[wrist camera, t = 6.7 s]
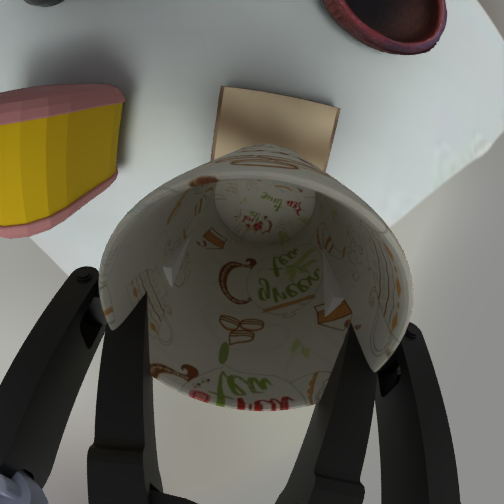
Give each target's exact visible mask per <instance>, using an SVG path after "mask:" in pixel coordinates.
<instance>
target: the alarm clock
mask: <svg viewBox="0 0 504 504" xmlns="http://www.w3.org/2000/svg"><path fill="white" fill-rule="evenodd" d="M125 101H126V99H125V96H124V94H123V93H122V92H121V91H120V89H119V88H117V87H114V86H112V85H109V84H58V85H45V86H36V87H28V88H22V89H16V90H11V91H6V92H2V93H0V237H4V238H10V239H12V238H20V237H29V236H32V235H35V234H38V233H41V232H44V231H47V230H50V229H51V228H53V227H54V226H56V225H58V224H59V223H61V222H63V221H65V220H66V219H67V218H68V217H70V216H71V215H72V214H73V213H75V212H76V211H77V210H79V209H80V208H81V207H83V206H84V205H85V204H87V203H88V202H89V201H91V200H92V199H93V198H95V197H96V196H97V195H99V194H100V193H102V192H103V191H104V190H106V189H107V188H108V187H109V186H110V185H111V184H112V183H113V182H114V181H115V179H116V178H117V175H118V169H117V166H116V159H117V147H118V137H119V129H120V121H121V113H122V107H123V102H125Z"/></svg>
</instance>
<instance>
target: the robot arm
mask: <svg viewBox="0 0 504 504" xmlns="http://www.w3.org/2000/svg"><path fill="white" fill-rule="evenodd" d="M24 1H25V2H27V3H28V4H30V5H34V6H42V7H48V6H52V5H55V4H58V3H60V2H62V1H64V0H24ZM191 234H192V232H191V233H190V234H189V235H188V236H187V238H186V239H185V240H184V241H183V242H182V244H181V245H180V246H179V247H178V248H177V250H176V251H175V252H174V253H173V254H172V256H171V257H170V258H169V259H168V260H167V262H166V263H165V264H164V265H163V270H164V273H165V275H166V277H167V280H168V282H169V284H170V285H171V287H173V284H174V282H175V279H176V276H177V273H178V271H179V268H180V265H181V262H182V260H183V257H184V254H185V251H186V249H187V246H188V243H189V240H190V237H191ZM323 279H324V306H325V317H326V316H327V315H329V314H330V313H331V312H332V311H333V310H335V309H336V308H337V307H338V306H339V305H340V304H341V302H342V301H343V300H344V299H345V298H344V296H343V294H342V291H341V289H340V287H339V285H338V282H337V280H336V278H335V276H334V273H333V271H332V269H331V267H330V265H329V263H328V260H327V258H326V256H325V254H324V252H323ZM104 333H105V336H104V343H103V349H102V356H101V364H100V372H99V380H98V391H97V401H96V402H97V403H96V416H95V438H94V443H93V444H92V445H91V446H90V447H89V450H88V454H87V481H88V482H87V483H88V500H89V504H197V503H195V502H193V501H190V500H188V499H186V498H181V497H177V496H173V495H169V494H164V493H163V487H162V482H161V477H160V473H159V468H158V461H157V451H156V439H155V426H154V409H153V382H152V381H153V377H152V376H151V371H150V357H149V334H148V299H147V292H146V293H145V294H144V296H143V297H142V298H141V300H140V301H139V302H138V304H137V305H136V306H135V308H134V309H133V310H132V311H131V313H130V314H129V315H128V316H127V318H126V319H125V320H124V321H123V322H122V323H121V324H120V326H119V327H117V328H116V329H115V330H111V329H110V327H109V325H108V323H107V320H106V317H105V315H104V312H103V309H102V305H101V300H100V294H99V272H98V270H97V269H96V268H93V267H88V266H85V267H80V268H78V269H76V270H75V271H73V272H72V273H71V275H70V276H69V277H68V279H67V280H66V281H65V283H64V284H63V285H62V287H61V288H60V289H59V291H58V292H57V293H56V295H55V296H54V298H53V299H52V301H51V302H50V303H49V305H48V306H47V308H46V309H45V311H44V312H43V313H42V315H41V317H40V318H39V319H38V321H37V323H36V324H35V326H34V327H33V329H32V330H31V332H30V333H29V335H28V337H27V339H26V340H25V342H24V343H23V345H22V347H21V348H20V350H19V352H18V353H17V355H16V357H15V359H14V360H13V362H12V364H11V366H10V368H9V370H8V372H7V373H6V375H5V377H4V379H3V381H2V383H1V385H0V504H48V500H47V498H46V497H45V494H44V492H43V490H42V488H43V487H44V485H45V483H46V481H47V479H48V477H49V475H50V473H51V470H52V467H53V464H54V461H55V457H56V454H57V451H58V448H59V445H60V442H61V439H62V435H63V433H64V430H65V427H66V424H67V421H68V418H69V416H70V413H71V410H72V407H73V405H74V402H75V399H76V397H77V394H78V392H79V389H80V387H81V385H82V382H83V380H84V377H85V375H86V373H87V370H88V368H89V366H90V363H91V361H92V359H93V356H94V354H95V352H96V350H97V348H98V345H99V343H100V341H101V339H102V337H103V335H104ZM400 371H401V372H400ZM374 401H375V404H376V412H377V422H378V432H379V446H380V462H381V491H382V492H381V497H382V498H381V500H382V501H381V502H382V503H381V504H461V503H460V494H459V484H458V475H457V467H456V460H455V454H454V448H453V443H452V437H451V433H450V428H449V423H448V419H447V414H446V410H445V406H444V402H443V398H442V395H441V391H440V387H439V384H438V381H437V377H436V374H435V370H434V367H433V364H432V361H431V358H430V355H429V352H428V349H427V346H426V343H425V340H424V338H423V335H422V332H421V331H420V329H419V328H418V327H417V326H416V325H414V324H413V323H410V322H409V324H408V327H407V329H406V332H405V334H404V336H403V338H402V340H401V342H400V344H399V345H398V347H397V348H396V350H395V351H394V353H393V354H392V355H391V357H390V358H389V359H388V360H387V361H386V362H385V363H384V365H383V366H382V367H381V368H380V369H379V370H378V371H376V372H373V371H372V369H371V368H370V366H369V364H368V362H367V360H366V358H365V356H364V353H363V351H362V348H361V346H360V343H359V341H358V338H357V336H356V333H355V331H354V328H353V326H352V323H350V325H349V328H348V330H347V333H346V335H345V339H344V342H343V345H342V347H341V349H340V351H339V354H338V356H337V359H336V362H335V364H334V367H333V369H332V372H331V375H330V377H329V380H328V382H327V385H326V387H325V390H324V392H323V394H322V397H321V399H320V401H319V403H317V404H316V406H315V409H314V412H313V415H312V418H311V421H310V424H309V427H308V430H307V433H306V435H305V438H304V441H303V444H302V447H301V449H300V452H299V455H298V458H297V460H296V463H295V465H294V468H293V470H292V473H291V475H290V478H289V480H288V483H287V485H286V487H285V488H284V490H283V491H282V493H281V494H280V495H279V497H278V499H277V501H276V503H275V504H362V503H363V499H364V494H365V489H364V486H363V485H362V484H361V483H360V475H361V471H362V467H363V463H364V458H365V454H366V448H367V444H368V438H369V433H370V427H371V421H372V415H373V408H374Z"/></svg>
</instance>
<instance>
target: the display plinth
mask: <svg viewBox="0 0 504 504" xmlns="http://www.w3.org/2000/svg"><path fill="white" fill-rule="evenodd" d="M339 113H340V108H337V107H333V106H329V105H325V104H321V103H317V102H313V101H309V100H305V99H300V98H295V97H291V96H285V95H280V94H275V93H269V92H263V91H257V90H250V89H243V88H235V87H226V86H221V89H220V95H219V102H218V109H217V116H216V123H215V130H214V138H213V146H212V154H211V161H212V160H215V159H217V158H219V157H222V156H224V155H226V154H229V153H231V152H234V151H236V150H239V149H241V148H244V147H247V146H251V145H257V144H272V145H278V146H281V147H284V148H287V149H289V150H291V151H293V152H295V153H297V154H299V155H300V156H302V157H303V158H305V159H306V160H308V161H309V162H311V163H312V164H314V165H315V166H317V167H318V168H320V169H321V170H323V171H324V172H325V171H326V167H327V163H328V159H329V155H330V151H331V147H332V143H333V139H334V135H335V130H336V126H337V122H338V117H339Z"/></svg>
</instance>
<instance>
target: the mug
mask: <svg viewBox="0 0 504 504" xmlns="http://www.w3.org/2000/svg"><path fill="white" fill-rule="evenodd" d="M191 232H192V234H191V237H190V240H189V243H188V246H187V249H186V251H185V254H184V257H183V260H182V262H181V265H180V268H179V271H178V273H177V276H176V279H175V282H174V284H173V287H171V285H170V284H169V282H168V280H167V277H166V275H165V273H164V270H163V265H164V264H165V263H166V262H167V260H168V259H169V258H170V257H171V256H172V254H173V253H174V252H175V251H176V250H177V248H178V247H179V246H180V245H181V244H182V242H183V241H184V240H185V239H186V238H187V236H188V235H189V234H190V233H191ZM323 252H324V254H325V256H326V258H327V260H328V263H329V265H330V267H331V269H332V271H333V273H334V276H335V278H336V280H337V282H338V285H339V287H340V289H341V291H342V294H343V296H344V298H345V299H344V300H343V301H342V302H341V304H340V305H339V306H338V307H337V308H336V309H335V310H333V311H332V312H331V313H330V314H329V315H327V316H326V317H325V306H324V279H323ZM146 292H147V299H148V334H149V357H150V371H151V376H153V377H154V378H156V379H157V380H159V381H160V382H162V383H163V384H165V385H167V386H168V387H170V388H172V389H174V390H176V391H178V392H180V393H182V394H185V395H187V396H189V397H192V398H195V399H197V400H200V401H203V402H206V403H210V404H214V405H218V406H222V407H227V408H233V409H240V410H251V411H277V410H288V409H295V408H300V407H305V406H309V405H313V404H317V403H319V401H320V399H321V397H322V394H323V392H324V390H325V387H326V385H327V382H328V380H329V377H330V375H331V372H332V369H333V367H334V364H335V362H336V359H337V356H338V354H339V351H340V349H341V347H342V345H343V342H344V339H345V335H346V333H347V330H348V328H349V325H350V323H352V326H353V328H354V331H355V333H356V336H357V338H358V341H359V343H360V346H361V348H362V351H363V353H364V356H365V358H366V360H367V362H368V364H369V366H370V368H371V369H372V371H373V372H376V371H378V370H379V369H380V368H381V367H382V366H383V365H384V363H385V362H386V361H387V360H388V359H389V358H390V357H391V355H392V354H393V353H394V351H395V350H396V348H397V347H398V345H399V344H400V342H401V340H402V338H403V336H404V334H405V332H406V329H407V327H408V324H409V321H410V316H411V312H412V306H413V285H412V277H411V273H410V269H409V266H408V262H407V260H406V257H405V254H404V252H403V250H402V248H401V246H400V244H399V242H398V241H397V239H396V237H395V236H394V234H393V233H392V231H391V230H390V229H389V227H388V226H387V225H386V223H385V222H384V221H383V219H382V218H381V217H380V216H379V215H378V214H377V213H376V212H375V211H374V210H373V209H372V208H371V207H370V206H369V205H368V204H367V203H366V202H365V201H363V200H362V199H361V198H360V197H359V196H357V195H356V194H355V193H354V192H352V191H351V190H350V189H348V188H347V187H345V186H344V185H343V184H341V183H340V182H339V181H337V180H336V179H334V178H333V177H331V176H330V175H329V174H327V173H326V172H324V171H323V170H321V169H320V168H318V167H317V166H315V165H314V164H312V163H311V162H309V161H308V160H306V159H305V158H303V157H302V156H300V155H299V154H297V153H295V152H293V151H291V150H289V149H287V148H284V147H281V146H278V145H272V144H257V145H251V146H247V147H244V148H241V149H239V150H236V151H234V152H231V153H229V154H226V155H224V156H222V157H219V158H217V159H215V160H212V161H210V162H208V163H205V164H203V165H201V166H199V167H196V168H194V169H192V170H190V171H188V172H186V173H183V174H181V175H179V176H177V177H175V178H173V179H172V180H170V181H168V182H166V183H165V184H163V185H161V186H160V187H158V188H157V189H155V190H154V191H152V192H151V193H149V194H148V195H147V196H146V197H144V198H143V199H142V200H141V201H139V202H138V203H137V204H136V205H135V206H134V207H133V208H132V209H131V210H130V211H129V212H128V213H127V214H126V215H125V217H124V218H123V219H122V220H121V221H120V223H119V224H118V225H117V227H116V229H115V230H114V232H113V233H112V235H111V237H110V239H109V241H108V243H107V245H106V248H105V251H104V253H103V256H102V260H101V264H100V269H99V294H100V300H101V305H102V309H103V312H104V315H105V317H106V320H107V323H108V325H109V327H110V329H111V330H115V329H116V328H117V327H119V326H120V324H121V323H122V322H123V321H124V320H125V319H126V318H127V316H128V315H129V314H130V313H131V311H132V310H133V309H134V308H135V306H136V305H137V304H138V302H139V301H140V300H141V298H142V297H143V296H144V294H145V293H146Z"/></svg>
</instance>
